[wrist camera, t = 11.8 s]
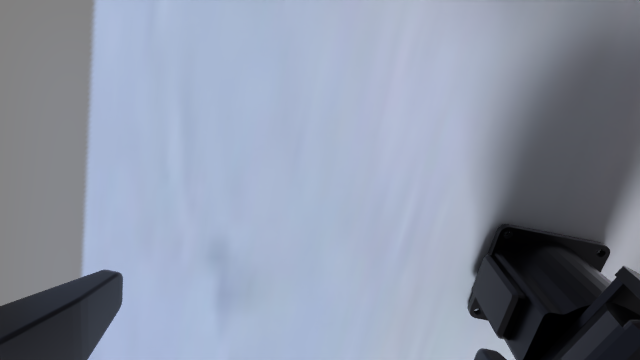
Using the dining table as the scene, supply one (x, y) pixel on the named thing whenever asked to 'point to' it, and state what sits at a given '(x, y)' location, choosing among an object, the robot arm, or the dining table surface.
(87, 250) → the dining table surface
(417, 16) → the dining table surface
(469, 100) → the dining table surface
